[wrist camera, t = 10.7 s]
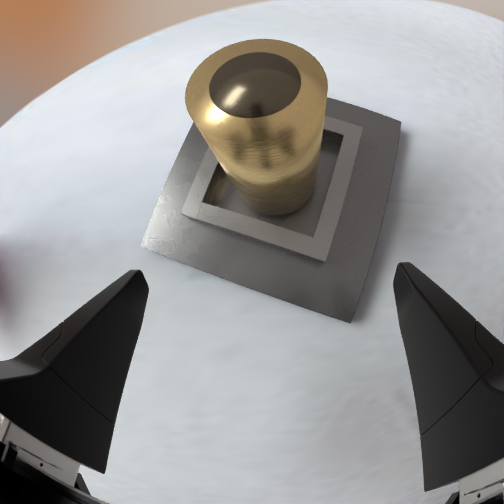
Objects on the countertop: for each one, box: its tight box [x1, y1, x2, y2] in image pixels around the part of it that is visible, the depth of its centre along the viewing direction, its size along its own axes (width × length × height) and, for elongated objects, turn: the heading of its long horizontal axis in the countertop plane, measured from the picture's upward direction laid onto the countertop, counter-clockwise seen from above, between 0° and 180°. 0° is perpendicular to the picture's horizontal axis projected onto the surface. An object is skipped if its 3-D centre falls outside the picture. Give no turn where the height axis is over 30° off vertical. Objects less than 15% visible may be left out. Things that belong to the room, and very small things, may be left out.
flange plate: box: [141, 97, 401, 323], centre depth 17 cm, size 14×14×2 cm
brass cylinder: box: [185, 39, 328, 215], centre depth 13 cm, size 5×5×9 cm
